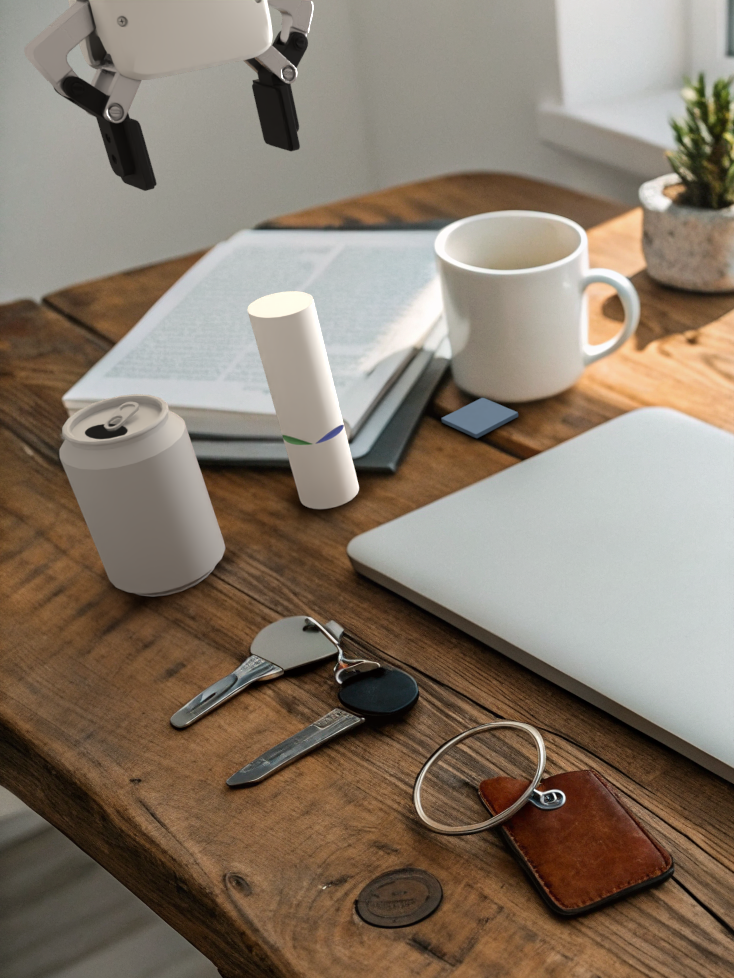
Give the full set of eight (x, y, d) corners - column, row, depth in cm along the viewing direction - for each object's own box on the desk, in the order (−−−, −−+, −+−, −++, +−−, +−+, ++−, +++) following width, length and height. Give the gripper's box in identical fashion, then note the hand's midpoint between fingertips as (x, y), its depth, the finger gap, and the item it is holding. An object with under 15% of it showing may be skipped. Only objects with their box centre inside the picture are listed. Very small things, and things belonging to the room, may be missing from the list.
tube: (299, 483, 88) (247, 297, 79) (357, 473, 88) (312, 287, 80) (300, 513, 84) (246, 321, 76) (360, 502, 85) (314, 311, 77)
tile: (476, 438, 92) (476, 434, 92) (441, 422, 94) (440, 418, 94) (518, 416, 95) (518, 412, 94) (483, 401, 97) (482, 397, 97)
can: (87, 593, 77) (21, 436, 71) (165, 531, 83) (110, 380, 77) (178, 613, 75) (118, 452, 68) (251, 547, 81) (203, 393, 74)
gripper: (241, -165, 70) (301, 125, 80) (-62, -141, 60) (47, 190, 69) (312, -163, 66) (366, 143, 75) (-2, -137, 55) (106, 215, 65)
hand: (214, 165), depth 72 cm, fingers open, 9 cm apart
